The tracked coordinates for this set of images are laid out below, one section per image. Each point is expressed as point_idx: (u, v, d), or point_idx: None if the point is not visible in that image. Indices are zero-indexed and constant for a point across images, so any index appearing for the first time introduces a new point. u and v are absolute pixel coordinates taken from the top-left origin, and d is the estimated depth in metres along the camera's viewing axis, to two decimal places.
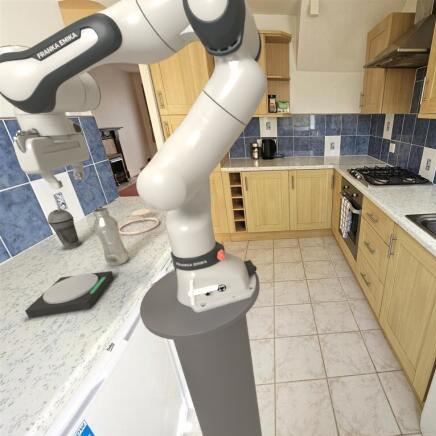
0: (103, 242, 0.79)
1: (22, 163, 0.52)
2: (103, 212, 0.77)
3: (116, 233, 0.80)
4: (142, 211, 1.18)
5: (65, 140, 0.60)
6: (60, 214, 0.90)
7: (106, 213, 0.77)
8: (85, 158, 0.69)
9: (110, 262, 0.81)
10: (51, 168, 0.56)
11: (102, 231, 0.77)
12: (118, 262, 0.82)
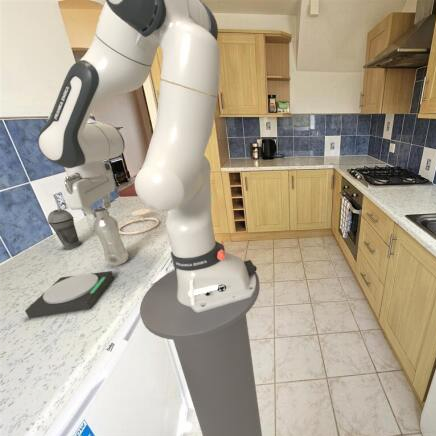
0: (103, 242, 0.79)
1: (69, 202, 0.66)
2: (103, 212, 0.77)
3: (116, 233, 0.80)
4: (142, 211, 1.18)
5: (99, 179, 0.73)
6: (60, 214, 0.90)
7: (106, 213, 0.77)
8: (112, 190, 0.82)
9: (110, 262, 0.81)
10: (89, 204, 0.70)
11: (102, 231, 0.77)
12: (118, 262, 0.82)
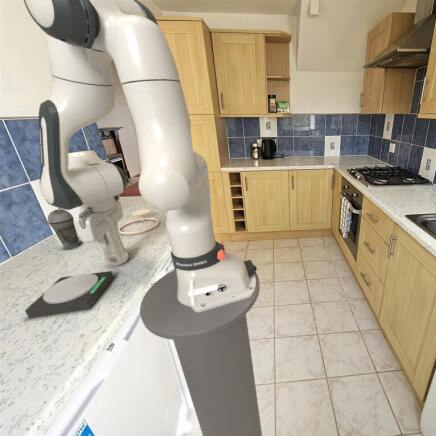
0: None
1: (82, 236, 0.70)
2: None
3: (116, 233, 0.80)
4: (142, 211, 1.18)
5: (109, 211, 0.78)
6: (60, 214, 0.90)
7: None
8: (120, 218, 0.87)
9: (110, 263, 0.81)
10: (100, 236, 0.74)
11: None
12: (118, 262, 0.82)
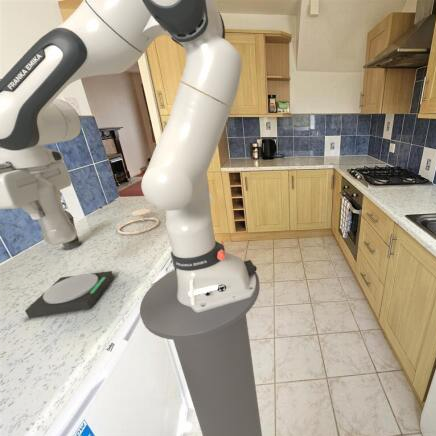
0: None
1: None
2: None
3: (54, 201, 0.61)
4: (142, 211, 1.18)
5: (42, 170, 0.58)
6: None
7: None
8: (66, 185, 0.67)
9: (49, 241, 0.62)
10: (26, 201, 0.54)
11: None
12: (60, 240, 0.63)
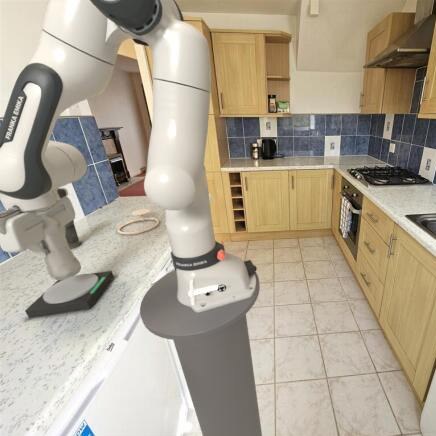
0: None
1: (2, 244, 0.52)
2: None
3: (59, 238, 0.62)
4: (142, 211, 1.18)
5: (48, 210, 0.59)
6: None
7: None
8: (70, 219, 0.69)
9: (54, 277, 0.63)
10: (33, 243, 0.56)
11: None
12: (65, 276, 0.64)
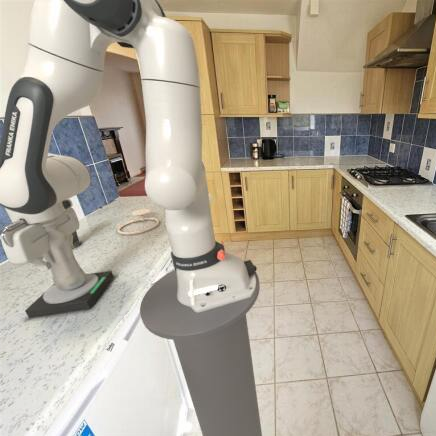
0: None
1: (10, 256, 0.53)
2: None
3: (66, 250, 0.64)
4: (142, 211, 1.18)
5: (54, 222, 0.61)
6: None
7: (51, 226, 0.61)
8: (75, 229, 0.70)
9: (60, 287, 0.65)
10: (39, 255, 0.57)
11: None
12: (70, 287, 0.66)
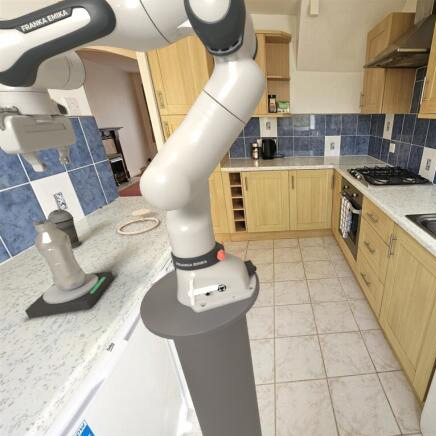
0: (49, 263, 0.62)
1: (1, 142, 0.49)
2: (47, 225, 0.60)
3: (66, 250, 0.64)
4: (142, 211, 1.18)
5: (48, 120, 0.57)
6: (60, 214, 0.90)
7: (51, 226, 0.61)
8: (71, 142, 0.66)
9: (60, 287, 0.65)
10: (33, 148, 0.54)
11: (46, 249, 0.60)
12: (70, 287, 0.66)
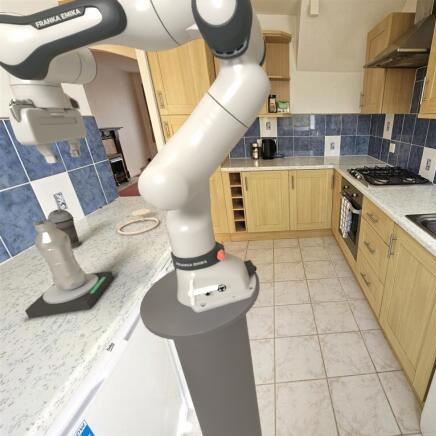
0: (49, 263, 0.62)
1: (17, 133, 0.51)
2: (47, 225, 0.60)
3: (66, 250, 0.64)
4: (142, 211, 1.18)
5: (61, 114, 0.59)
6: (60, 214, 0.90)
7: (51, 226, 0.61)
8: (82, 135, 0.68)
9: (60, 287, 0.65)
10: (47, 140, 0.55)
11: (46, 249, 0.60)
12: (70, 287, 0.66)
